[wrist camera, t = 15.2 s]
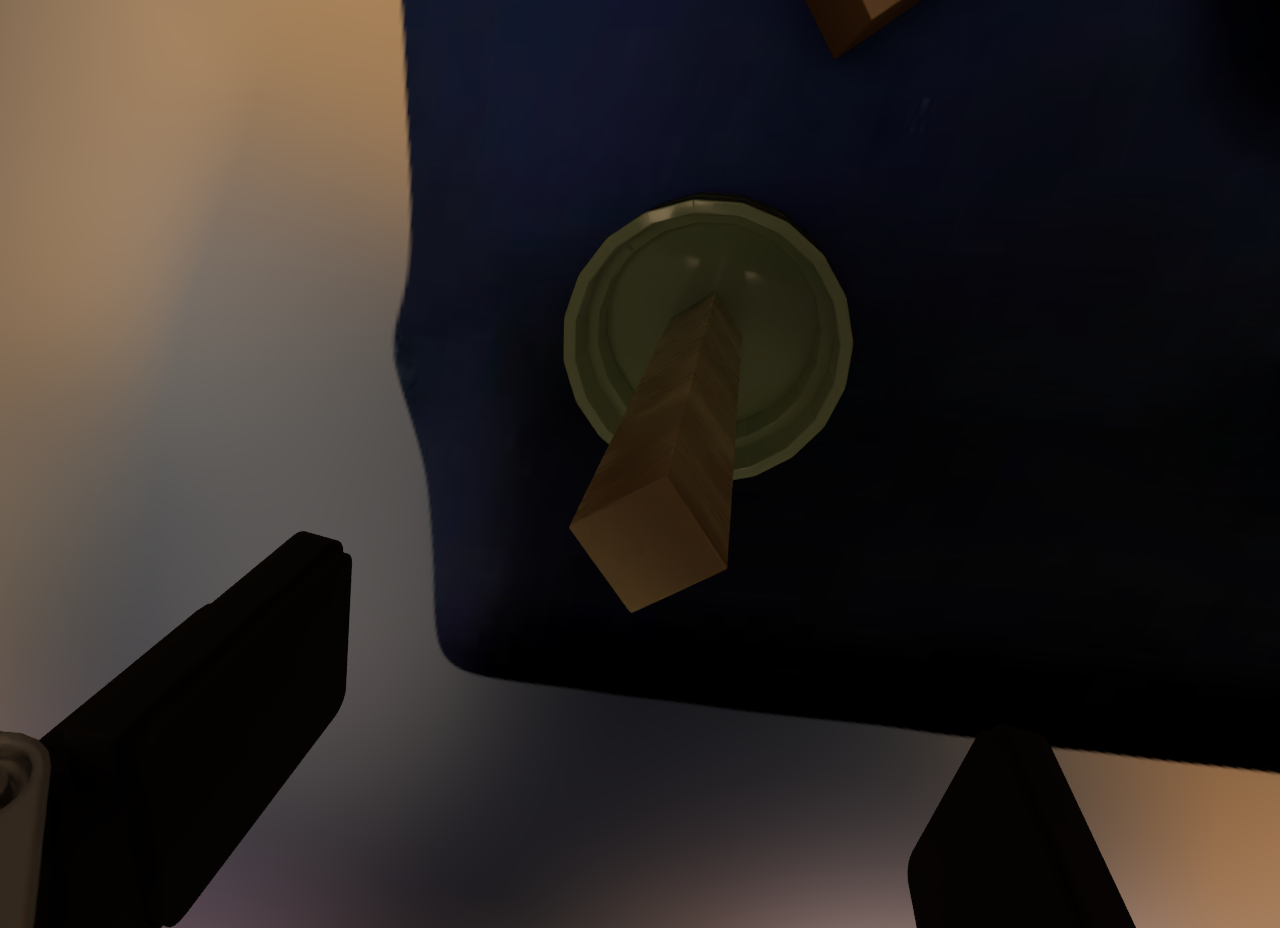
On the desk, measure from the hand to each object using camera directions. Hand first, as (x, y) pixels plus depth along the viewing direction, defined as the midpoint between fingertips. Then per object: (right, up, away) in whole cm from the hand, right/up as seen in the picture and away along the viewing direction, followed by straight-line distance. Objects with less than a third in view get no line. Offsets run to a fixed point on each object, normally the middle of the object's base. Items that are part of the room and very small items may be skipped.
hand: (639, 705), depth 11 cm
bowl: (+3, +10, +23) cm, 25 cm away
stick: (+3, +10, +22) cm, 25 cm away
